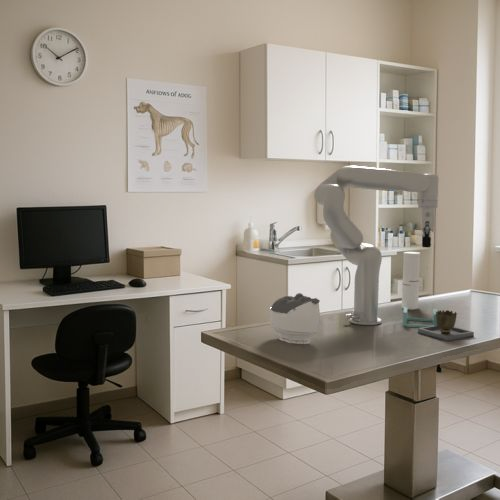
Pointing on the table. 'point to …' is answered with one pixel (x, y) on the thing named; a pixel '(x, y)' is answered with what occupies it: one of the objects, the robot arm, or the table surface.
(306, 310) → the white bowl with contents
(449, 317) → the cup
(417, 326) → the holder
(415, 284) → the cylindrical container
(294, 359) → the table surface
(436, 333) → the tray
